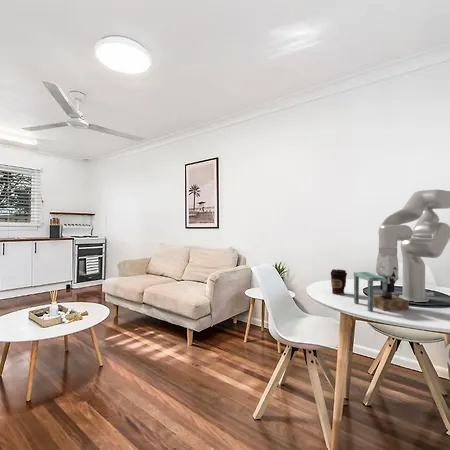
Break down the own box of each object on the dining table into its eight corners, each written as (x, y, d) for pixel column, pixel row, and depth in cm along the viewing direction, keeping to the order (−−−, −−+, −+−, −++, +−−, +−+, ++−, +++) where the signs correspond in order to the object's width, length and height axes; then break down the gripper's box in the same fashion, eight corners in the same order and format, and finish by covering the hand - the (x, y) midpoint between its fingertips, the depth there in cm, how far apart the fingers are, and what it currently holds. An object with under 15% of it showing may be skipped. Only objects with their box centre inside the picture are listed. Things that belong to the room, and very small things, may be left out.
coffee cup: (341, 296, 151) (342, 272, 151) (327, 293, 157) (327, 270, 157) (349, 293, 157) (349, 270, 156) (335, 290, 163) (335, 268, 163)
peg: (380, 298, 135) (380, 273, 135) (388, 298, 136) (388, 273, 136) (385, 300, 131) (386, 274, 131) (393, 300, 132) (394, 274, 132)
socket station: (390, 301, 141) (390, 271, 141) (409, 310, 128) (409, 276, 128) (353, 302, 139) (353, 272, 139) (369, 311, 126) (369, 277, 126)
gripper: (369, 249, 141) (369, 286, 142) (392, 253, 125) (391, 295, 125) (384, 249, 142) (383, 286, 142) (408, 253, 125) (407, 295, 126)
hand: (387, 290), depth 134 cm, fingers closed on peg, 4 cm apart
